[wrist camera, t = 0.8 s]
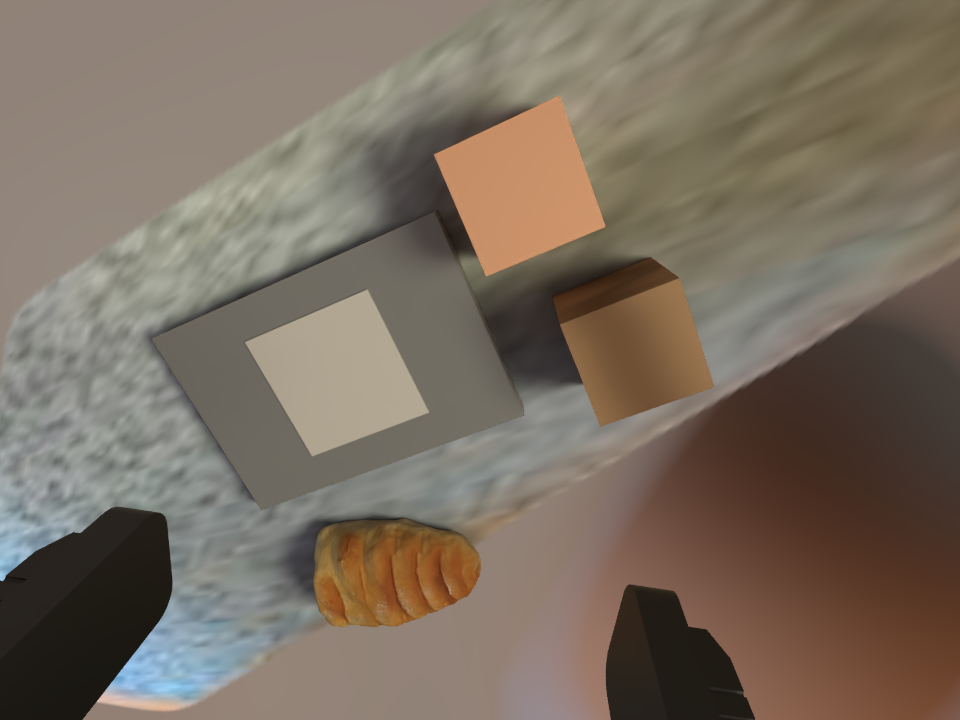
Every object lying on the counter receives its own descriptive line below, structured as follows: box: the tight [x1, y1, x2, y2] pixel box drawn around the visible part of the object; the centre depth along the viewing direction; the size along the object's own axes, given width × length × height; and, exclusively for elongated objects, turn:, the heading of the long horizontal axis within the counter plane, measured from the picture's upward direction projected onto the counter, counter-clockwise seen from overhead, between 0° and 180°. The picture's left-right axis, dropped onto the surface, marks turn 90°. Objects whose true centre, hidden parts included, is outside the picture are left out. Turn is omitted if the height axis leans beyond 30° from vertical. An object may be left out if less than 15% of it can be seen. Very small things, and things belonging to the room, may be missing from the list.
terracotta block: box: [434, 96, 606, 276], centre depth 24 cm, size 5×5×5 cm
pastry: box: [314, 518, 481, 627], centre depth 32 cm, size 9×7×4 cm
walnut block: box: [552, 258, 714, 427], centre depth 25 cm, size 5×5×5 cm
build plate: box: [152, 210, 524, 510], centre depth 29 cm, size 16×11×1 cm
